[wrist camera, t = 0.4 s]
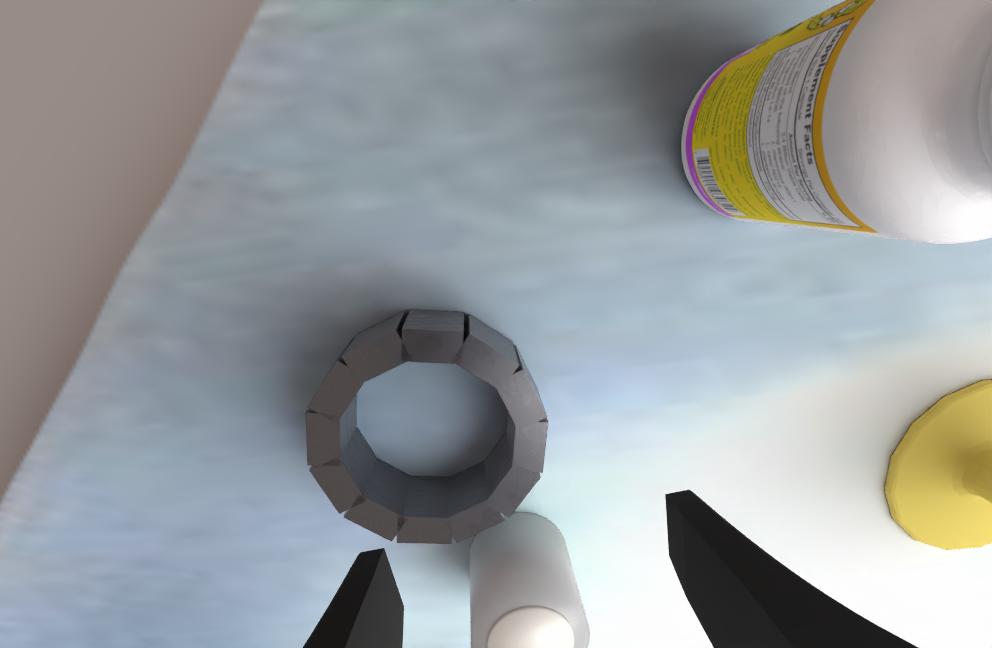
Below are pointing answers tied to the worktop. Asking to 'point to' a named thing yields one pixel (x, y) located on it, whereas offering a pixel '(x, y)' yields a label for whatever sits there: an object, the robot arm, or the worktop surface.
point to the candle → (946, 472)
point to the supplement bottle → (854, 124)
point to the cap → (524, 587)
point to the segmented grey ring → (411, 499)
